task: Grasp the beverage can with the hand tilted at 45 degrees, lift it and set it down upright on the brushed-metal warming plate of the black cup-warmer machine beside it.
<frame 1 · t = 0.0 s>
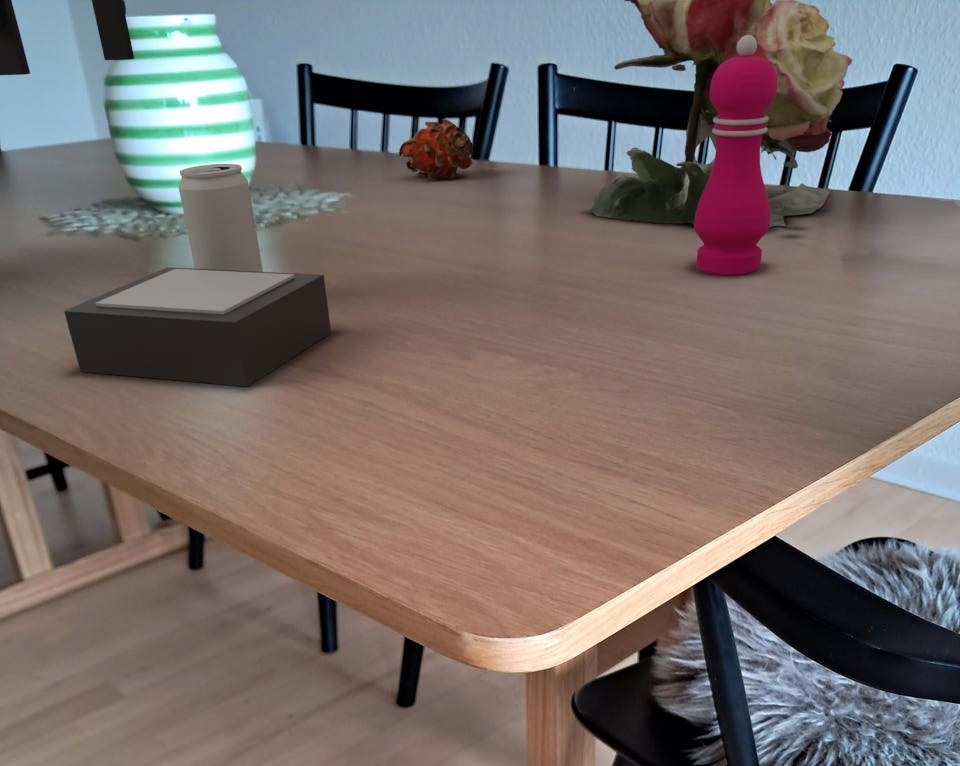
hand: (70, 67, 86), 21 cm above the table, tool pointing down, fingers open, 13 cm apart
pepper mill: (727, 269, 101), on the table
cup warmer: (210, 351, 86), on the table
rose bouquet: (726, 208, 126), on the table
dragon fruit: (438, 179, 153), on the table
beverage can: (234, 301, 100), on the table
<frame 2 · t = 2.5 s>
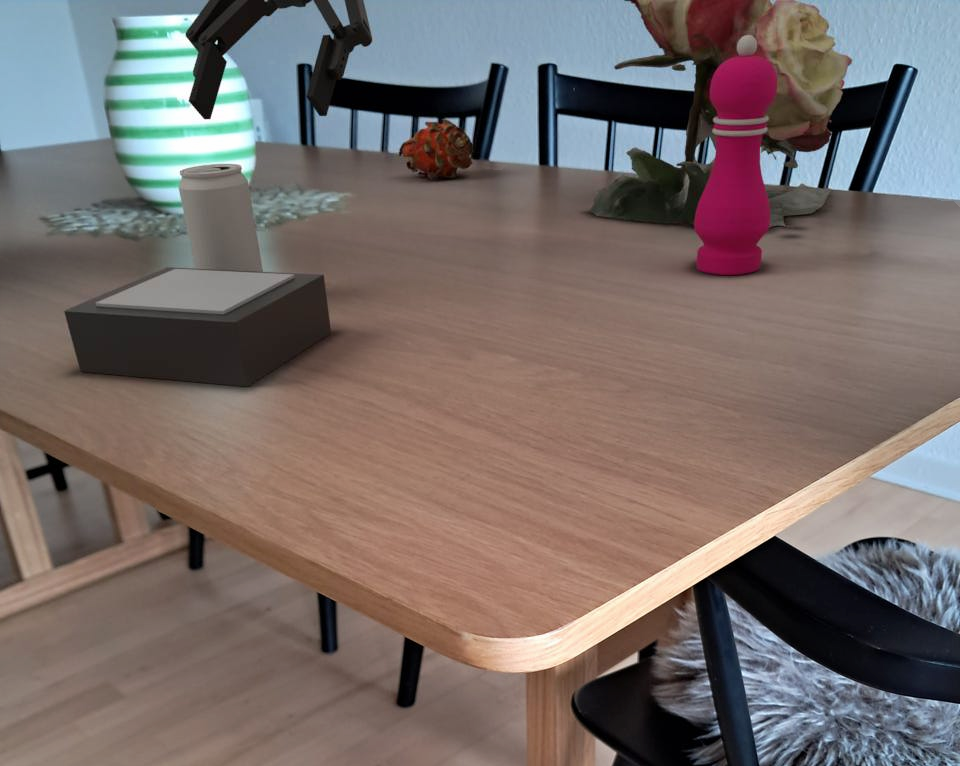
hand: (256, 108, 98), 16 cm above the table, tool tilted 45°, fingers open, 13 cm apart
nothing on the table moved.
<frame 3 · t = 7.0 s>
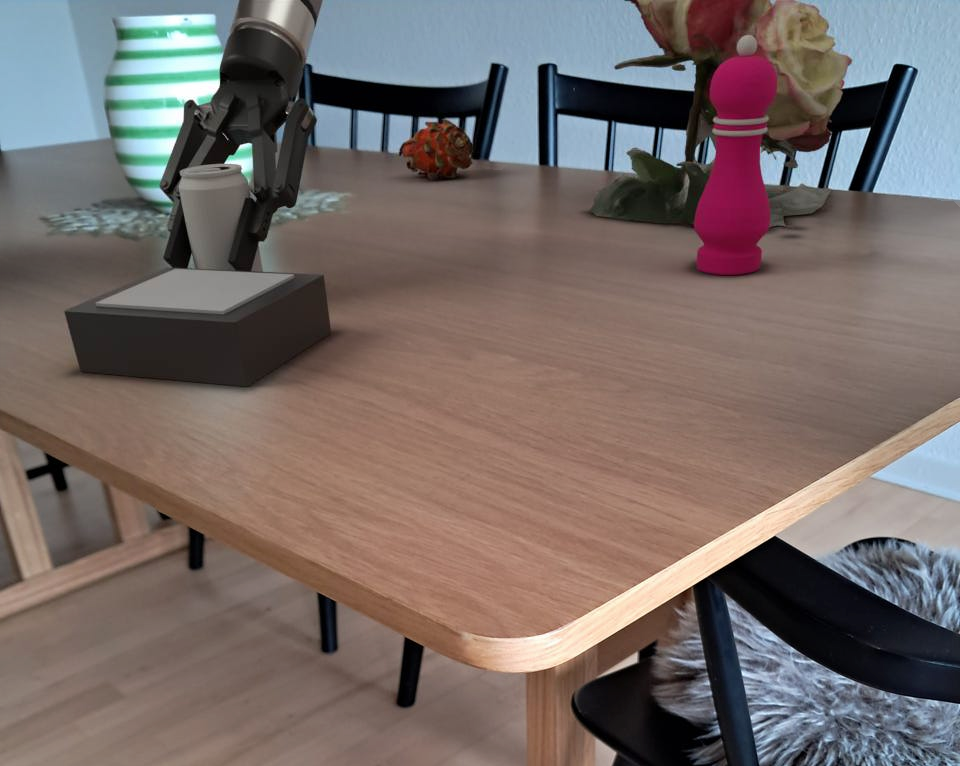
hand: (206, 267, 95), 4 cm above the table, tool tilted 45°, fingers closed on beverage can, 6 cm apart
beverage can: (234, 301, 100), on the table, touching gripper
everything else where it was.
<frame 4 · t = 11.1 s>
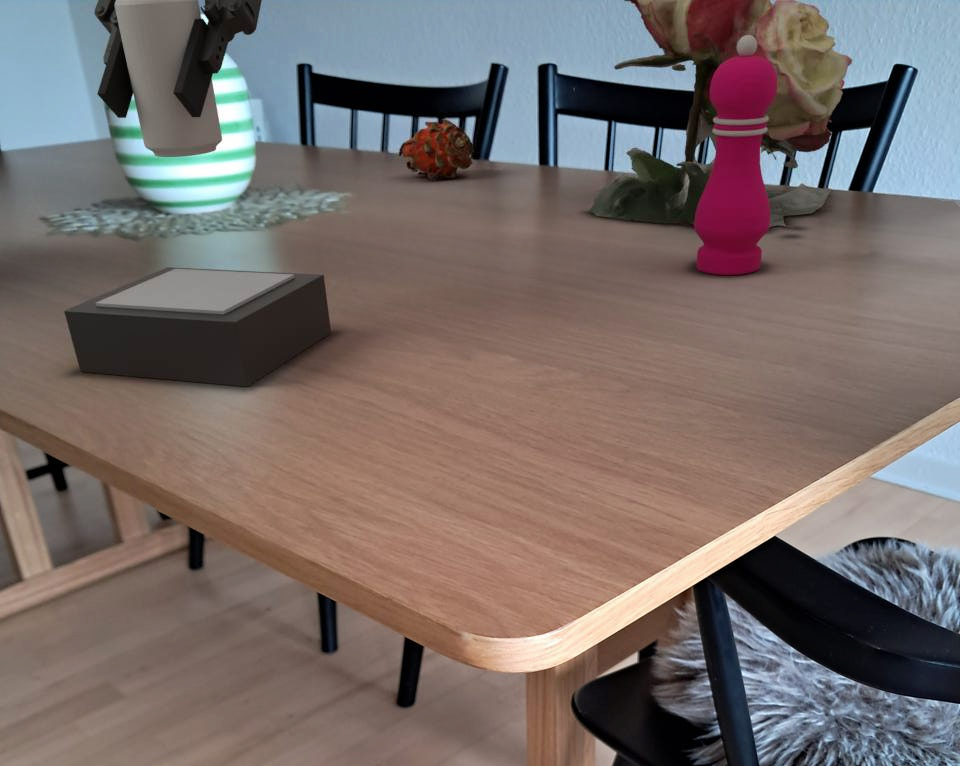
hand: (149, 105, 79), 18 cm above the table, tool tilted 45°, fingers closed on beverage can, 6 cm apart
beverage can: (185, 155, 85), point 14 cm above the table, touching gripper
everything else where it was.
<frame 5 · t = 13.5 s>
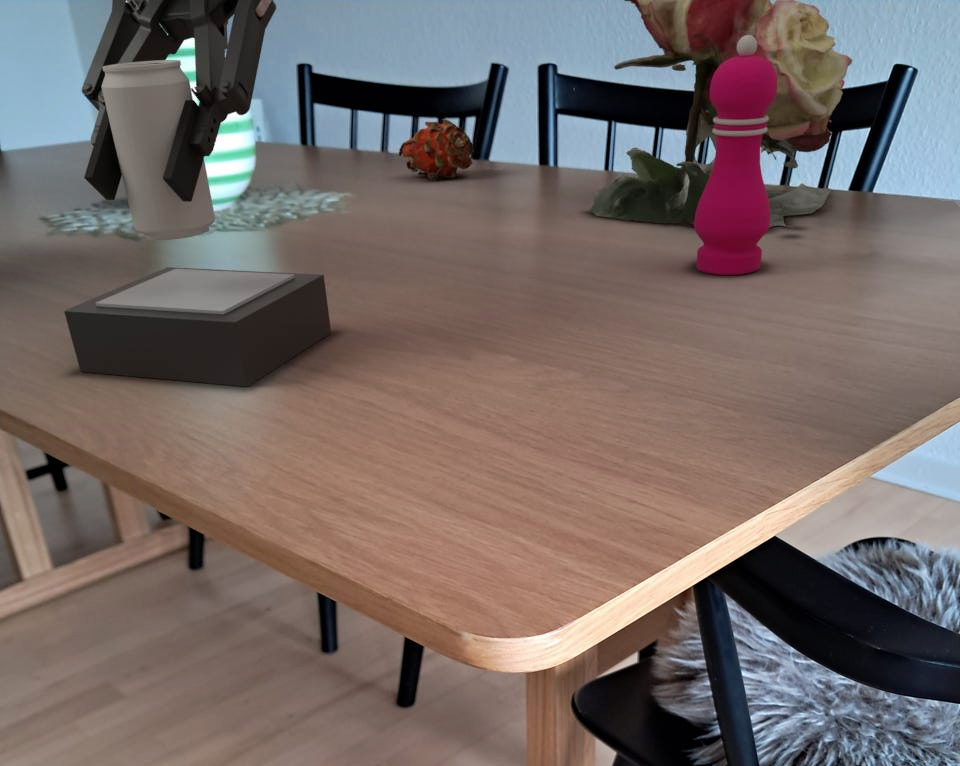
hand: (137, 189, 76), 13 cm above the table, tool tilted 45°, fingers closed on beverage can, 6 cm apart
beverage can: (177, 235, 81), point 9 cm above the table, touching gripper
everything else where it was.
when the fingers open (9 cm above the table, at t = 15.1 s): beverage can stays where it is, resting on cup warmer.
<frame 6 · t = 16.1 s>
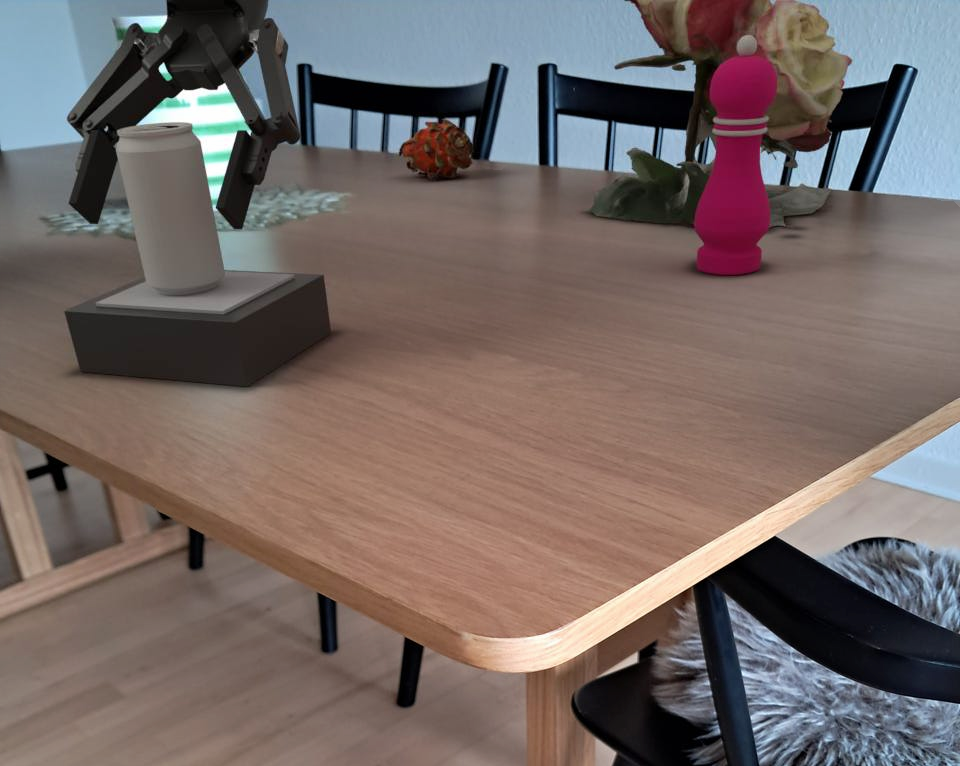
hand: (154, 216, 78), 11 cm above the table, tool tilted 45°, fingers open, 13 cm apart
beverage can: (188, 289, 83), point 5 cm above the table, touching cup warmer
everything else where it was.
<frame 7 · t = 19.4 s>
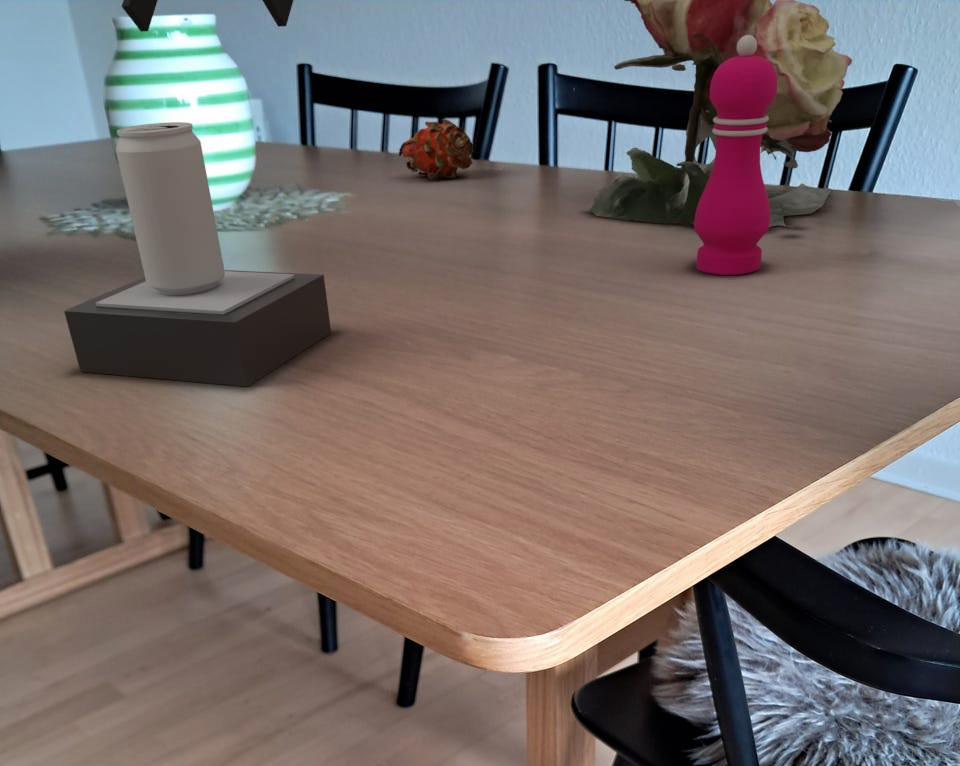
hand: (202, 16, 83), 24 cm above the table, tool tilted 45°, fingers open, 13 cm apart
nothing on the table moved.
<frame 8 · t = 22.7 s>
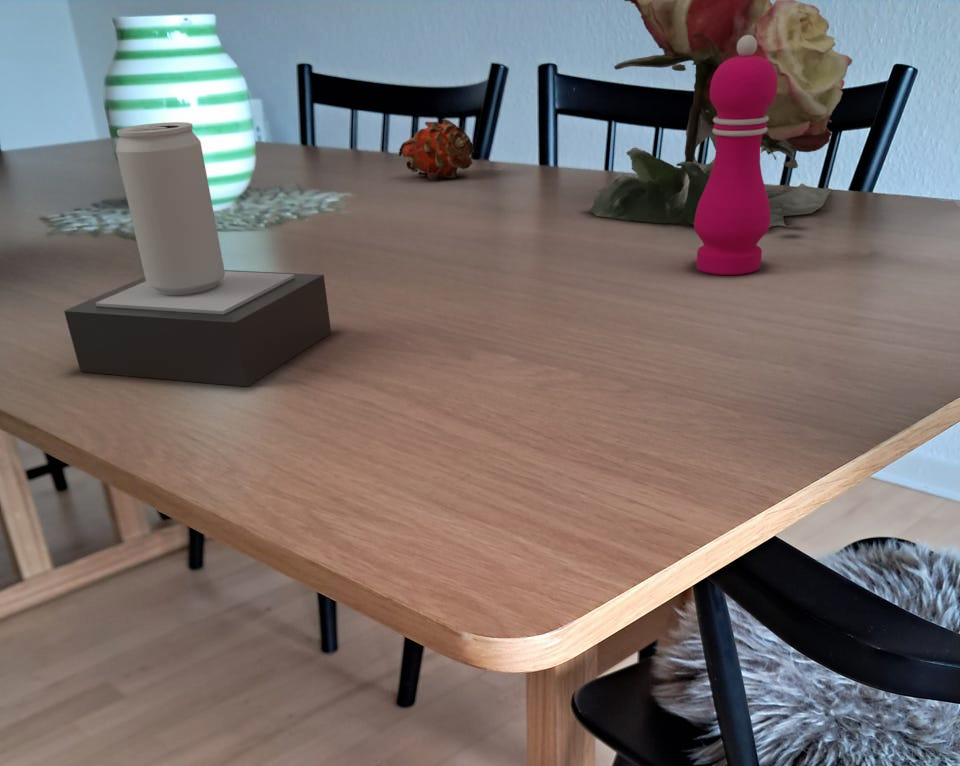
nothing on the table moved.
at the end: beverage can inside the target area on the cup warmer (1.0 cm from its centre), point 5.1 cm above the cup warmer's base; beverage can tilted 0°; the gripper is holding nothing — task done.
